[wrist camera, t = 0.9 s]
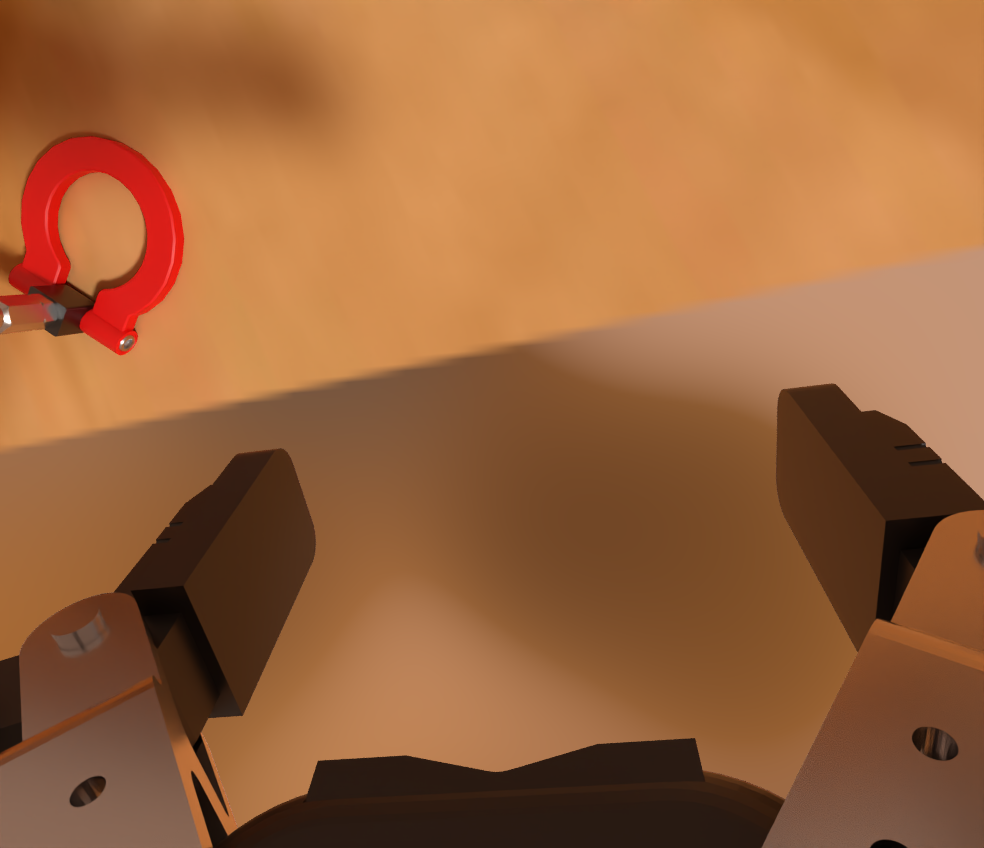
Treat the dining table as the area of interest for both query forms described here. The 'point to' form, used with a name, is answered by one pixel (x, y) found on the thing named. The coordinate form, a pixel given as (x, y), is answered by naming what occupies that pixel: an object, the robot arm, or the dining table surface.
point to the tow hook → (49, 266)
